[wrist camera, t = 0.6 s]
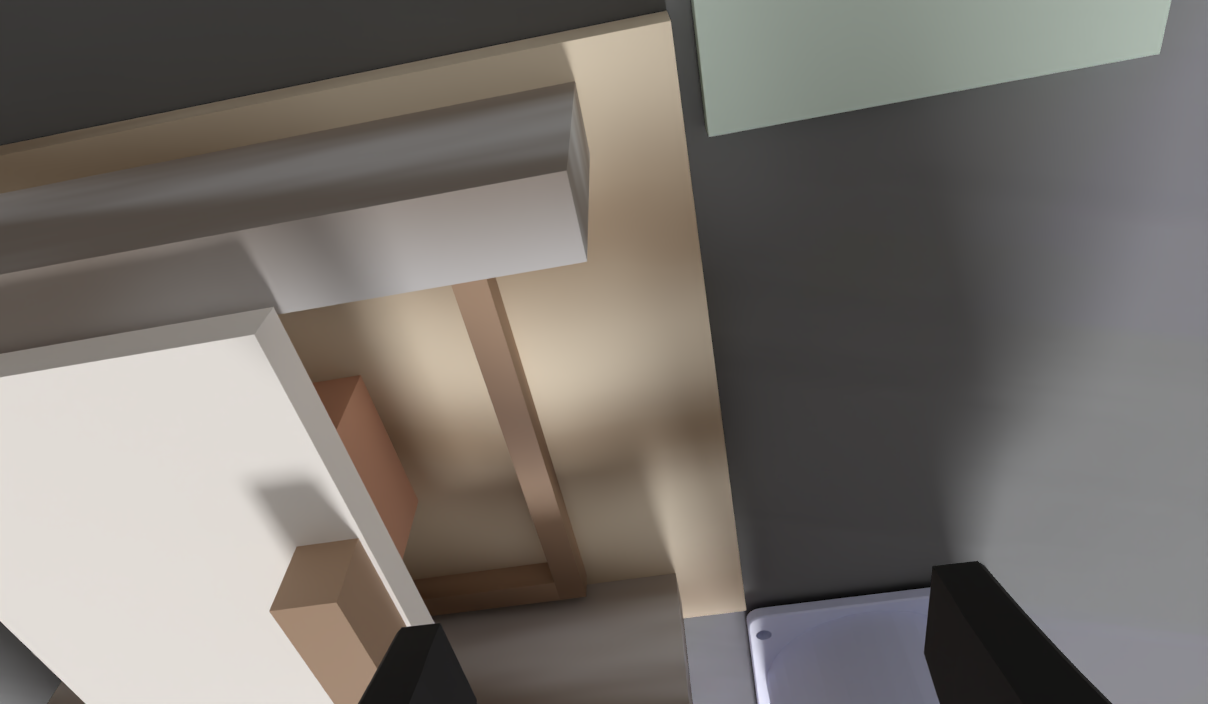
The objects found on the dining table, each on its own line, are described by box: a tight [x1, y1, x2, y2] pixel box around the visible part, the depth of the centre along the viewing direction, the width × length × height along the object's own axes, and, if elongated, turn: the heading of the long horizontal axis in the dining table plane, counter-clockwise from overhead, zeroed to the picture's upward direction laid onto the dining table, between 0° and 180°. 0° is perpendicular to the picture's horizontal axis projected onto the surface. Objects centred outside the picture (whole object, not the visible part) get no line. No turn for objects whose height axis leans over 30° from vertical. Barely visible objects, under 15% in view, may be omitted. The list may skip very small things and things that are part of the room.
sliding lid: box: [0, 307, 435, 704], centre depth 15 cm, size 14×8×2 cm, turn 10°
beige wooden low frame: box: [0, 11, 746, 704], centre depth 19 cm, size 18×22×6 cm
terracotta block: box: [312, 375, 418, 560], centre depth 18 cm, size 4×4×4 cm
